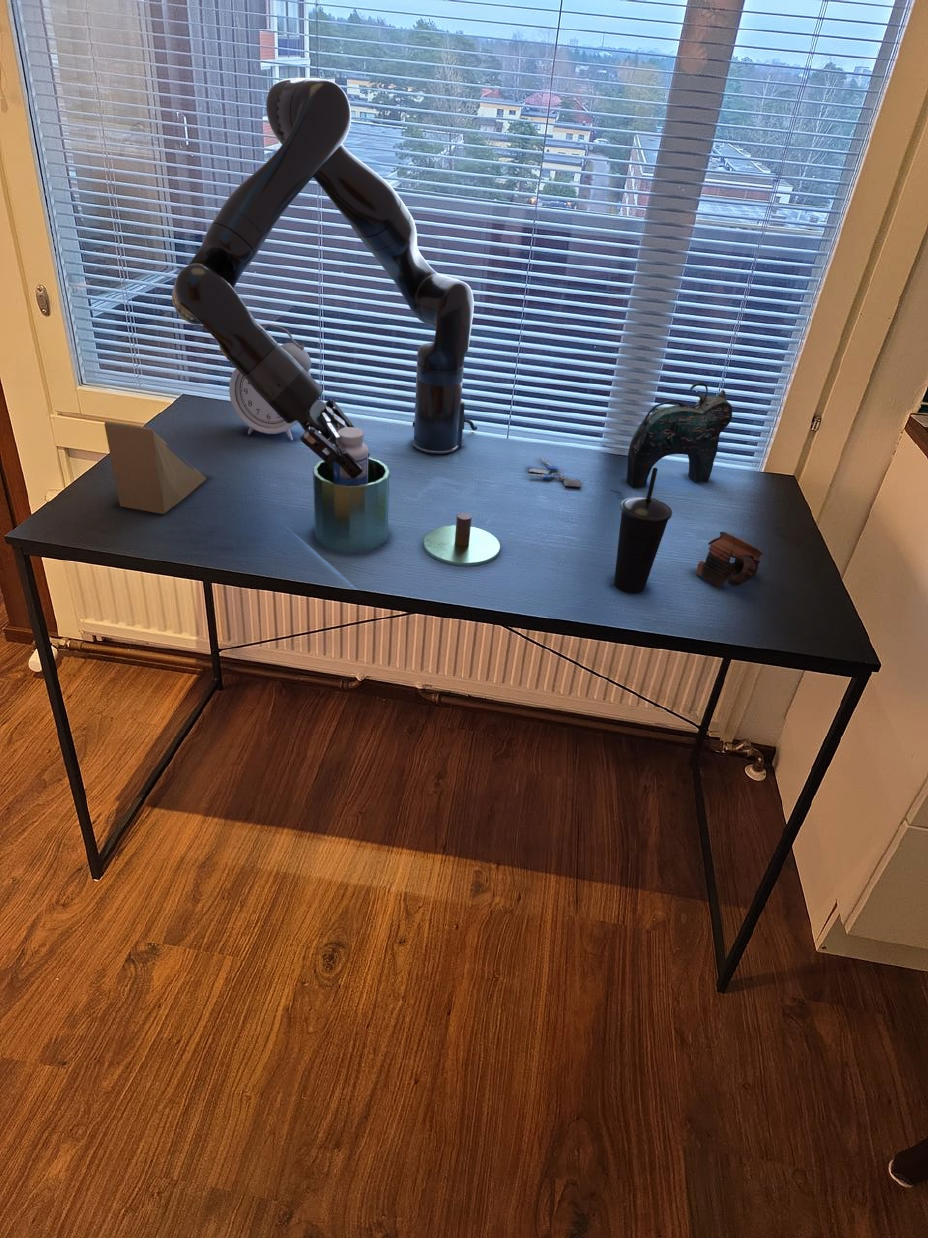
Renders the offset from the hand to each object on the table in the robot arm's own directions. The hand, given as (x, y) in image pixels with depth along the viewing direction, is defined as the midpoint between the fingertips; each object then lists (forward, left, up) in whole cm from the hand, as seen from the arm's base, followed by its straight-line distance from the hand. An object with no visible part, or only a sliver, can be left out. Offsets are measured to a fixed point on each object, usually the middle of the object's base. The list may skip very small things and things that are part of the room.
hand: (362, 466), depth 129 cm
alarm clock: (-8, -47, -13) cm, 49 cm away
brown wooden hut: (-45, +41, -13) cm, 62 cm away
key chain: (-45, -3, -13) cm, 47 cm away
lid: (-12, +11, -12) cm, 21 cm away
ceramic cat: (-66, +10, -13) cm, 68 cm away
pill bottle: (+1, -1, -4) cm, 5 cm away
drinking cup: (-29, +34, -13) cm, 46 cm away
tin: (+1, -1, -13) cm, 13 cm away
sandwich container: (+21, -31, -13) cm, 40 cm away
